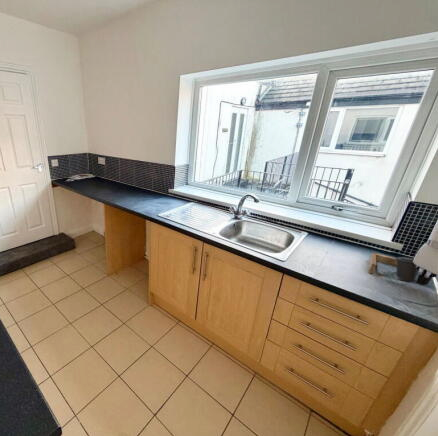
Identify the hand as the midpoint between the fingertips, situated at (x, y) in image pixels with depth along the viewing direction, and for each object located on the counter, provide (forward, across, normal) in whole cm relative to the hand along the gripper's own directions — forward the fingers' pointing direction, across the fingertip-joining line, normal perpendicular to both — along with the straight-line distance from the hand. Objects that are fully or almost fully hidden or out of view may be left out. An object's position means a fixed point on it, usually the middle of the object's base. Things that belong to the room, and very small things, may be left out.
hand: (421, 283), depth 103 cm
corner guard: (+3, +14, -1) cm, 14 cm away
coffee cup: (+2, +6, 0) cm, 6 cm away
